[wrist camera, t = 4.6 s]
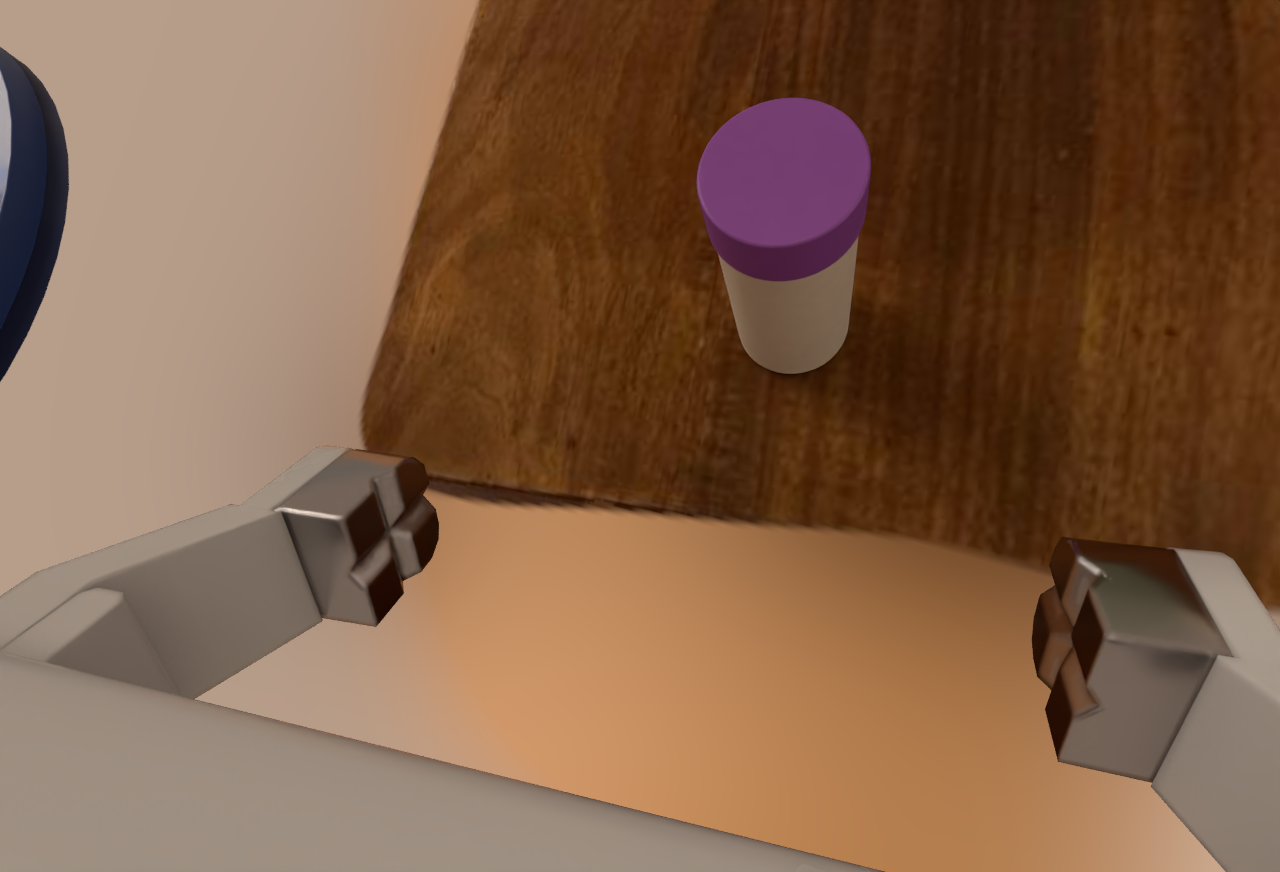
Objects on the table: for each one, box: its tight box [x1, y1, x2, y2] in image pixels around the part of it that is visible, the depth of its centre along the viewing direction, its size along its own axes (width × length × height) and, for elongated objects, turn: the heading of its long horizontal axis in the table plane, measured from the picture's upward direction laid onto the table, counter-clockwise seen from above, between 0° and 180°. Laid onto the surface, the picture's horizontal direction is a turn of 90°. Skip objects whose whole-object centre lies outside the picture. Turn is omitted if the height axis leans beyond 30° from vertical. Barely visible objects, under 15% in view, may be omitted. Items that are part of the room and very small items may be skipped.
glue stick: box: [697, 98, 871, 374], centre depth 17 cm, size 3×3×8 cm
